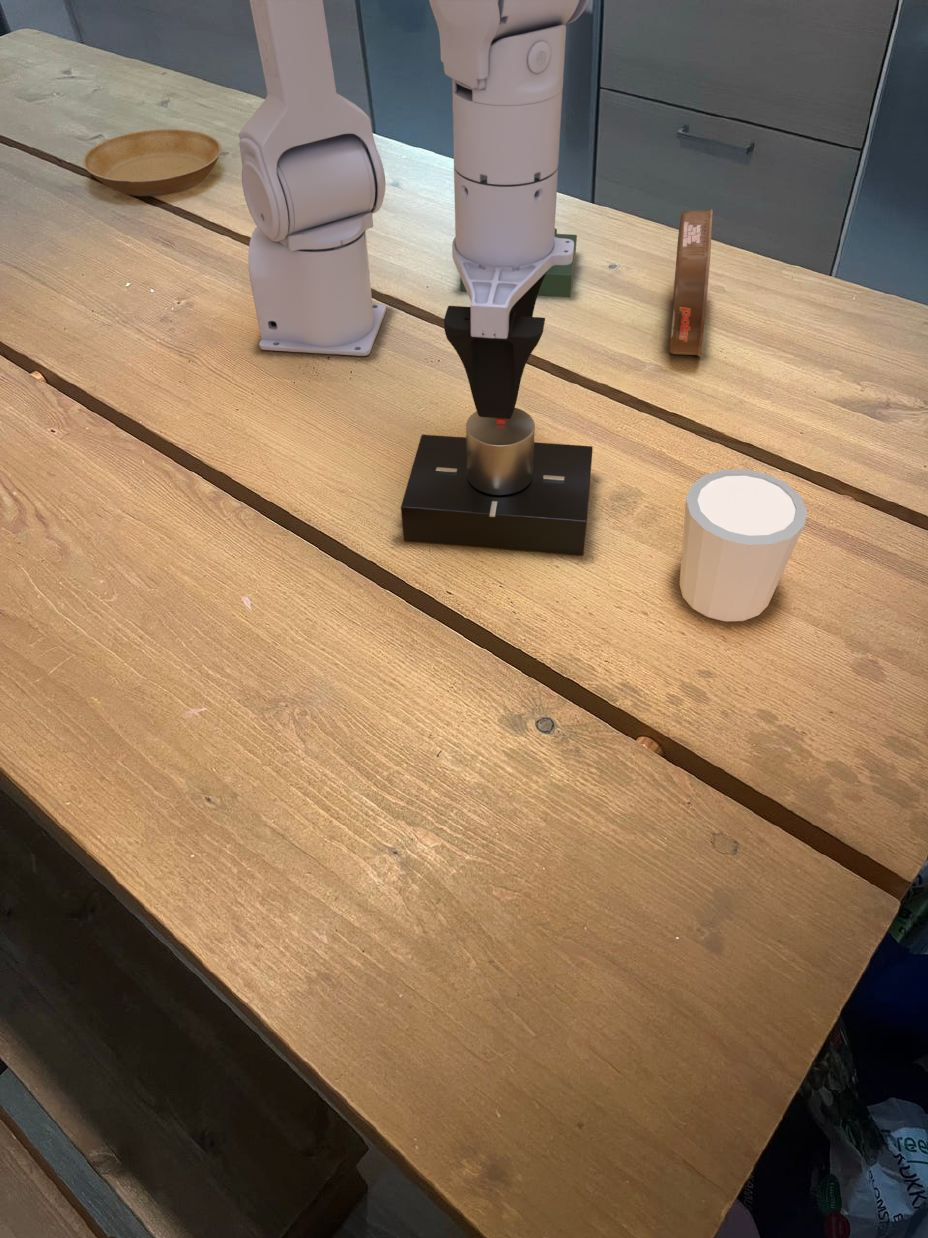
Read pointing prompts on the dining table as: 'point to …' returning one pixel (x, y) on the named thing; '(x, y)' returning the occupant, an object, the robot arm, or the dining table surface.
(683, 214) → the brown rectangular box
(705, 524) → the white cylinder
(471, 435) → the knob
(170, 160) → the plant saucer
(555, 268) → the button box
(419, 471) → the panel
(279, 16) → the robot arm
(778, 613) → the dining table surface
